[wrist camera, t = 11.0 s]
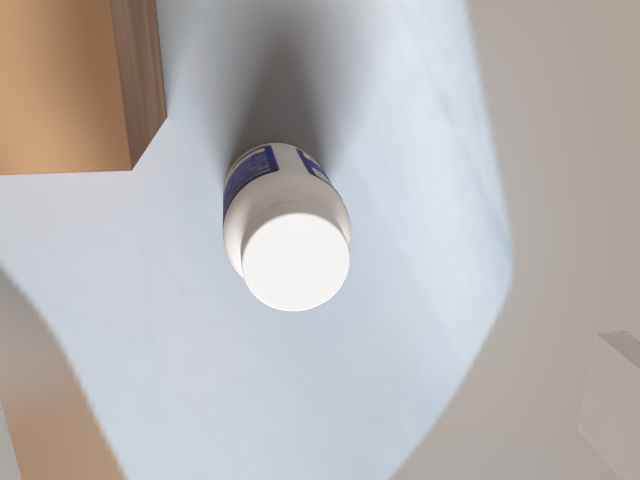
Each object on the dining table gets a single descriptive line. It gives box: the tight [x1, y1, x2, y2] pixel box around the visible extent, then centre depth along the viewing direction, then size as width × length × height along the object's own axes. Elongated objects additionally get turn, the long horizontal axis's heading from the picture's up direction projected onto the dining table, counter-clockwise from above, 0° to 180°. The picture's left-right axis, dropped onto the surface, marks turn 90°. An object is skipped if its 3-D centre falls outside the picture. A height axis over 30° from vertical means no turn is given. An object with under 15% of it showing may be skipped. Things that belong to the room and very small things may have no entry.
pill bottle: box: [223, 143, 351, 311], centre depth 23 cm, size 5×5×9 cm
